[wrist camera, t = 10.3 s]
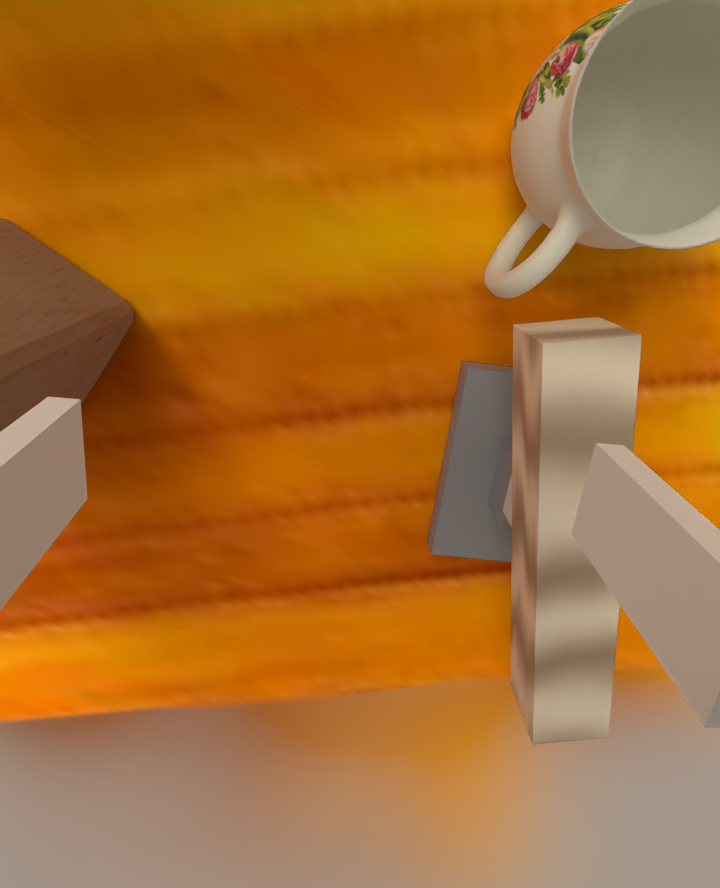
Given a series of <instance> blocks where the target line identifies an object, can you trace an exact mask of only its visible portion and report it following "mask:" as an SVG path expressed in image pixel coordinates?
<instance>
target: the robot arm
mask: <svg viewBox="0 0 720 888" xmlns="http://www.w3.org/2000/svg"><path fill="white" fill-rule="evenodd" d="M87 499H88V496H87V482H86V468H85V455H84V441H83V427H82V413H81V400H80V399H71V398H59V397H47V398H46V399H44V400H43V401H42V402H40V403H39V404H37V405H36V406H35V407H33V408H32V409H31V410H29V411H28V412H27V413H25V414H24V415H23V416H21V417H20V418H19V419H17V420H16V421H14V422H13V423H12V424H10V425H9V426H8V427H6V428H5V429H4V430H2V431H1V432H0V610H1V609H2V608H3V606H4V605H5V604H6V603H7V601H8V600H9V599H10V597H11V596H12V595H13V594H14V592H15V591H16V590H17V588H18V587H19V586H20V585H21V583H22V582H23V581H24V580H25V578H26V577H27V576H28V574H29V573H30V572H31V571H32V569H33V568H34V567H35V565H36V564H37V563H38V562H39V560H40V559H41V558H42V557H43V555H44V554H45V553H46V551H47V550H48V549H49V548H50V546H51V545H52V544H53V542H54V541H55V540H56V539H57V537H58V536H59V535H60V534H61V532H62V531H63V530H64V528H65V527H66V526H67V525H68V523H69V522H70V521H71V519H72V518H73V517H74V516H75V514H76V513H77V512H78V511H79V509H80V508H81V507H82V505H83V504H84V503H85V502H86V500H87ZM571 534H572V536H573V537H574V539H575V540H576V542H577V543H578V544H579V546H580V547H581V549H582V550H583V552H584V553H585V555H586V556H587V557H588V559H589V560H590V562H591V563H592V565H593V566H594V568H595V569H596V571H597V572H598V573H599V575H600V576H601V578H602V579H603V581H604V582H605V584H606V585H607V587H608V588H609V589H610V591H611V592H612V594H613V595H614V597H615V598H616V600H617V601H618V603H619V604H620V605H621V607H622V608H623V610H624V611H625V613H626V614H627V616H628V617H629V619H630V620H631V621H632V623H633V624H634V626H635V627H636V629H637V630H638V632H639V633H640V635H641V636H642V637H643V639H644V640H645V642H646V643H647V645H648V646H649V648H650V649H651V651H652V652H653V653H654V655H655V656H656V658H657V659H658V661H659V662H660V664H661V665H662V666H663V668H664V669H665V671H666V672H667V674H668V675H669V677H670V678H671V680H672V681H673V682H674V684H675V685H676V687H677V688H678V690H679V691H680V692H681V694H682V695H683V697H684V698H685V700H686V701H687V703H688V704H689V706H690V707H691V709H692V710H693V711H694V713H695V714H696V716H697V717H698V719H699V720H700V722H701V723H702V725H703V726H704V727H713V728H720V530H719V529H718V528H717V527H716V526H714V525H713V524H712V523H711V522H710V521H709V520H708V519H707V518H705V517H704V516H703V515H702V514H701V513H700V512H699V511H698V510H696V509H695V508H694V507H693V506H692V505H691V504H690V503H689V502H687V501H686V500H685V499H684V498H683V497H682V496H681V495H680V494H678V493H677V492H676V491H675V490H674V489H673V488H672V487H671V486H669V485H668V484H667V483H666V482H665V481H664V480H663V479H661V478H660V477H659V476H658V475H657V474H656V473H655V472H654V471H652V470H651V469H650V468H649V467H648V466H647V465H646V464H645V463H643V462H642V461H641V460H640V459H639V458H638V457H637V456H636V455H634V454H633V453H632V452H631V451H630V450H629V449H628V448H627V447H625V446H624V445H614V444H602V443H596V445H595V449H594V452H593V456H592V460H591V463H590V467H589V470H588V474H587V478H586V481H585V485H584V489H583V492H582V496H581V499H580V503H579V507H578V510H577V514H576V518H575V521H574V525H573V528H572V532H571Z"/></svg>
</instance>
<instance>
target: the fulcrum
mask: <svg viewBox="0 0 720 888" xmlns="http://www.w3.org/2000/svg"><path fill="white" fill-rule="evenodd" d="M512 424H513V367H508V366H500V365H492V364H483V363H475V362H467V361H462V364H461V370H460V375H459V380H458V385H457V390H456V396H455V401H454V406H453V411H452V416H451V421H450V427H449V432H448V437H447V442H446V447H445V452H444V458H443V463H442V468H441V473H440V478H439V484H438V489H437V494H436V499H435V504H434V509H433V515H432V520H431V525H430V530H429V535H428V544H429V548H430V552H431V554H434V555H444V556H454V557H464V558H475V559H485V560H495V561H506V562H512Z"/></svg>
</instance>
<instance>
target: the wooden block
mask: <svg viewBox="0 0 720 888" xmlns="http://www.w3.org/2000/svg"><path fill="white" fill-rule="evenodd" d="M133 316H134V310H133V309H132V307H131V306H130V305H129V304H128V302H127V301H126V300H124V299H123V298H122V297H120V296H119V295H117V294H116V293H114V292H113V291H111V290H110V289H108V288H107V287H105V286H104V285H102V284H101V283H99V282H98V281H97V280H95V279H94V278H92V277H91V276H89V275H88V274H86V273H85V272H83V271H82V270H80V269H79V268H77V267H76V266H75V265H73V264H72V263H70V262H69V261H67V260H66V259H64V258H63V257H61V256H60V255H58V254H57V253H55V252H54V251H52V250H51V249H50V248H48V247H47V246H45V245H44V244H42V243H41V242H39V241H38V240H36V239H35V238H33V237H32V236H30V235H29V234H28V233H26V232H25V231H23V230H22V229H20V228H19V227H17V226H16V225H14V224H13V223H11V222H10V221H8V220H6V219H2V218H0V432H1V431H2V430H4V429H5V428H6V427H8V426H9V425H10V424H12V423H13V422H14V421H16V420H17V419H19V418H20V417H21V416H23V415H24V414H25V413H27V412H28V411H29V410H31V409H32V408H33V407H35V406H36V405H37V404H39V403H40V402H42V401H43V400H44V399H46V398H47V397H59V398H71V399H80V400H81V406H82V404H83V403H84V401H85V399H86V398H87V396H88V394H89V393H90V391H91V390H92V388H93V386H94V385H95V383H96V382H97V380H98V378H99V377H100V375H101V373H102V372H103V370H104V369H105V367H106V365H107V364H108V362H109V361H110V359H111V357H112V356H113V354H114V352H115V351H116V349H117V348H118V346H119V344H120V343H121V341H122V340H123V338H124V336H125V335H126V333H127V331H128V330H129V328H130V327H131V325H132V323H133Z"/></svg>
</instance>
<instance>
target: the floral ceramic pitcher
mask: <svg viewBox="0 0 720 888" xmlns="http://www.w3.org/2000/svg"><path fill="white" fill-rule="evenodd" d="M511 162H512V168H513V174H514V178H515V181H516V184H517V187H518V189H519V191H520V193H521V195H522V197H523V199H524V200H525V202H526V203H527V206H526V208H525V210H524V211H523V213H522V214H521V215H520V216H519V218H518V219H517V220H516V221H515V223H514V224H513V225H512V227H511V228H510V229H509V231H508V232H507V233H506V235H505V236H504V238H503V239H502V240H501V242H500V244H499V245H498V247H497V248H496V250H495V251H494V253H493V255H492V257H491V259H490V260H489V262H488V265H487V267H486V269H485V273H484V283H485V286H486V287H487V288H488V290H489V291H490V292H491V293H493V294H494V295H495V296H497V297H500V298H514V297H517V296H520V295H522V294H524V293H526V292H527V291H529V290H530V289H532V288H533V287H535V286H536V285H537V284H539V283H540V282H541V281H542V280H544V279H545V278H546V277H547V276H548V275H549V274H550V273H551V272H552V271H553V270H554V269H555V268H556V267H557V266H558V265H559V263H560V262H561V261H562V260H563V259H564V257H565V256H566V255H567V254H568V252H569V251H570V250H571V248H572V247H573V246H574V244H575V243H579V244H582V245H586V246H590V247H595V248H603V249H632V248H638V247H644V246H648V247H652V248H659V249H668V250H670V249H687V248H693V247H699V246H702V245H706V244H709V243H712V242H715V241H717V240H720V0H631V1H629V2H626V3H623V4H620V5H617V6H615V7H613V8H611V9H609V10H607V11H605V12H603V13H601V14H599V15H597V16H595V17H593V18H592V19H590V20H589V21H587V22H586V23H584V24H583V25H581V26H580V27H579V28H577V29H576V30H575V31H573V32H572V33H571V34H570V35H569V36H568V37H567V38H565V39H564V40H563V41H562V42H561V43H560V44H559V45H558V46H557V47H556V48H555V49H554V50H553V52H552V53H551V54H550V55H549V56H548V57H547V58H546V59H545V60H544V62H543V63H542V65H541V66H540V67H539V69H538V70H537V72H536V73H535V75H534V76H533V78H532V80H531V81H530V83H529V85H528V87H527V89H526V90H525V92H524V94H523V97H522V99H521V102H520V104H519V107H518V110H517V114H516V117H515V121H514V125H513V131H512V137H511ZM543 224H545V225H546V226H547V227H549V228H550V229H551V231H550V233H549V234H548V235H547V237H546V238H545V239H544V241H543V242H542V243H541V244H540V246H539V247H538V248H537V249H536V250H535V251H534V252H533V253H532V254H531V255H530V256H529V257H528V258H527V259H526V260H525V261H523V262H522V263H521V264H520V265H518V266H517V267H515V268H514V269H512V270H511V268H512V266H513V264H514V262H515V261H516V259H517V257H518V255H519V254H520V252H521V250H522V249H523V247H524V246H525V245H526V243H527V242H528V240H529V239H530V238H531V236H532V235H533V234H534V233H535V231H536V230H537V229H538V228H539V227H540V226H541V225H543Z"/></svg>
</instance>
